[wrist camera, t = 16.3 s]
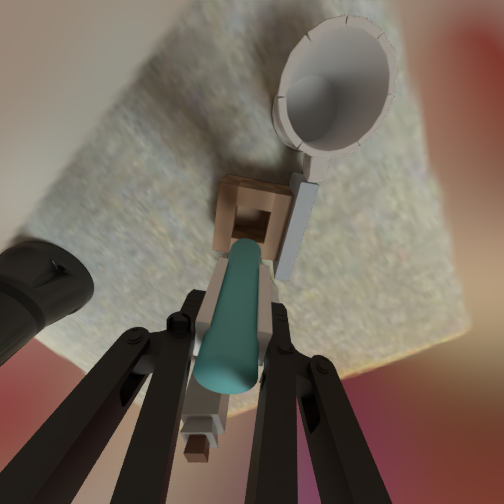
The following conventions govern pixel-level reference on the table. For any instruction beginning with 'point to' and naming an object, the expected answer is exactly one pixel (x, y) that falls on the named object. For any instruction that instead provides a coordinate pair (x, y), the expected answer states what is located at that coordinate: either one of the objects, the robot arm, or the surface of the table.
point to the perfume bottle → (202, 420)
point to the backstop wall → (295, 224)
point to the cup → (335, 91)
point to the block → (252, 214)
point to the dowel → (233, 326)
